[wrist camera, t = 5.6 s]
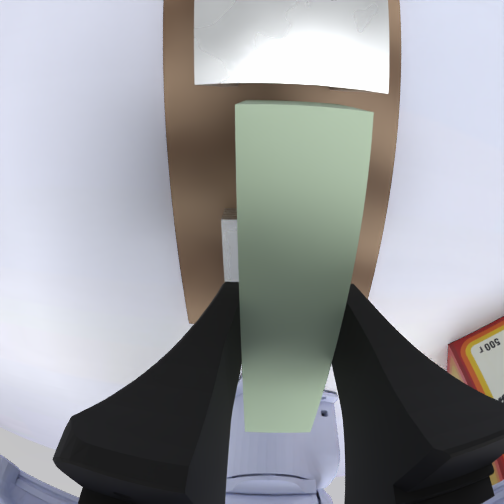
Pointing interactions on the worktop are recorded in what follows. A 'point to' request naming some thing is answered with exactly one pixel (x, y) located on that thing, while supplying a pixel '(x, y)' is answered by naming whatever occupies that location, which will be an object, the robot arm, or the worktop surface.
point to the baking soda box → (482, 369)
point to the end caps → (289, 56)
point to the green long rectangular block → (295, 249)
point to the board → (224, 153)
